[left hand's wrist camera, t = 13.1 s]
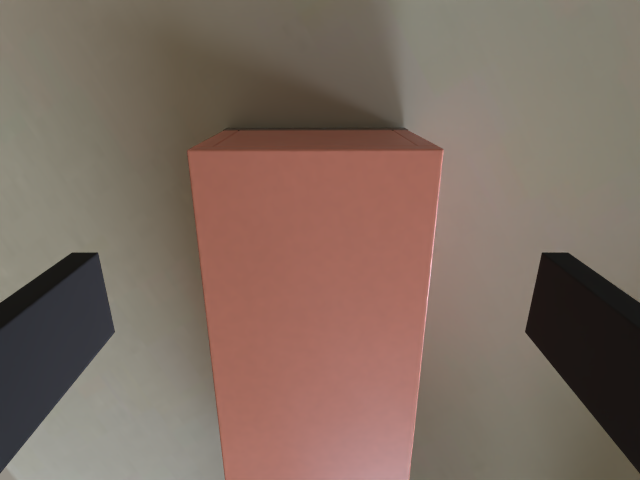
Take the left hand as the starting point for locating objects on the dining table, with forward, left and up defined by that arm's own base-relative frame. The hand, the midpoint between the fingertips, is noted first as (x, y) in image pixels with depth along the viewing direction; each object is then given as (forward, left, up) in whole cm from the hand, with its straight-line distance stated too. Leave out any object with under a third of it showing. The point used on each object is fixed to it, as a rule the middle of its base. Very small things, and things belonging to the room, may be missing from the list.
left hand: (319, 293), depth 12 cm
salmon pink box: (+6, -3, -13) cm, 14 cm away
